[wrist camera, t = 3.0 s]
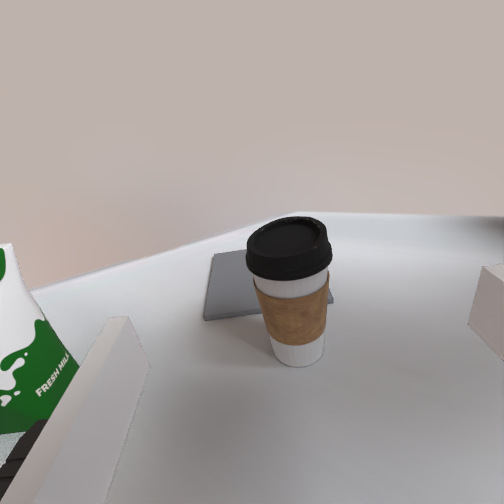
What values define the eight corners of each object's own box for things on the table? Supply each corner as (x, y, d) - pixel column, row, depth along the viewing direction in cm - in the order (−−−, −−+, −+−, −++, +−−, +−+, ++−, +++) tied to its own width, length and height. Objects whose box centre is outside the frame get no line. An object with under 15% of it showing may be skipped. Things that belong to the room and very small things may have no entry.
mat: (308, 243, 57) (307, 240, 56) (333, 302, 41) (333, 298, 41) (215, 257, 58) (214, 254, 57) (204, 320, 42) (203, 316, 42)
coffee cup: (349, 341, 35) (349, 223, 28) (305, 392, 30) (292, 265, 23) (292, 313, 40) (280, 210, 33) (248, 352, 36) (223, 241, 29)
